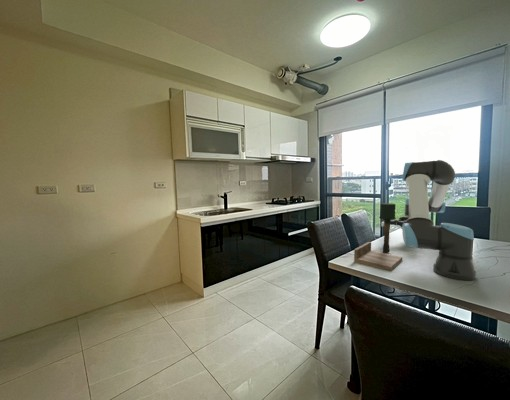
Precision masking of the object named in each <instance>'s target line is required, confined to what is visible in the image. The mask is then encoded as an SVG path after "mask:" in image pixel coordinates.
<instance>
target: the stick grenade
mask: <svg viewBox="0 0 510 400" xmlns="http://www.w3.org/2000/svg"><path fill="white" fill-rule="evenodd" d="M396 206H397V205H396V203H392V202H382V203H380V207H379V208H380V209H379V210H380V212H379V219H382V220H384V226H383V230H384V232H383V244H382V253H386V254H390V229H391V225H390V221H391V220H397V218H396Z"/></svg>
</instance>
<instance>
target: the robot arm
mask: <svg viewBox="0 0 510 400" xmlns="http://www.w3.org/2000/svg"><path fill="white" fill-rule="evenodd" d="M455 178H456V171H455V169H454V168H453V166H452V165H451V164H450V163H449V162H447V161H444V160H441V159H429V160H428V159H426V160H425V159H423V160H409V161H408V160H407V161H406V162H405V164H404V166H403V172H402V181H404V182H405V184H406V185H408V197H407V198H405V203H404V204H405V205H404V216H401V217H399V218H398V219H395V220H391V221H390V226H391V225H392V226H393V225H394V226H399V227H401V229H402V230H401V231H402V239H403V242H404V243H403V244H404V245H405V246H406V247H410V248H414V249H425V250H434V251H438V256H437V258H436V260H435V262H434V263H433V266H432V267H433V268H432V269H433V272H434V273H436V274H438V275H439V276H443V277H446V278H449V279H453V280H460V281H461V280H462V281H474V280H475V279H477V272H476V270H475V267H474V264H473V261H472V260H473V247H474V241H475V237H474V235H475V234H474V230H473V229H472V228H471V227H467V226H464V225H460V224H455V223H449V222H441V223H440V224H439V225H434V221H433V220H432V219H430V213H436V214H439V213H440V214H443V213H445V211H446V202H445V198H446V195H447V194H448V190H449V188H450V185H451V184H452V183H453V182H455V181H454V180H455ZM431 181H433V184H432V187H431V191H430V195H429V192H428V185H429V184H430V182H431ZM380 225H381V227H382V228H384V219H382V220H381V224H380Z"/></svg>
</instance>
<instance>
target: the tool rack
mask: <svg viewBox="0 0 510 400" xmlns="http://www.w3.org/2000/svg"><path fill="white" fill-rule="evenodd" d="M353 251H354V252H353V253H354V256H353V262H354V263H357V264H358V263H359V264H361V265H367V266H370V267H375V268H378V269H381V270H385V271H391V272H392V271H393V270H394V269H395V268H396V267H397V266H398V265H399V264H400V263H401V262H403V256H400V255H396V254H390V253H384V252H380V251H376V250H372V242H371V241H367V242H366V243H365V242H364V244H362V245H361V244H360V245H359V246H357V247H356V248H354V250H353Z"/></svg>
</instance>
